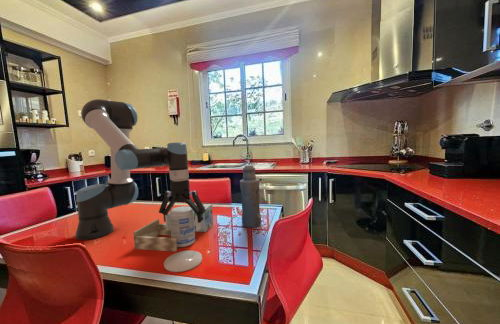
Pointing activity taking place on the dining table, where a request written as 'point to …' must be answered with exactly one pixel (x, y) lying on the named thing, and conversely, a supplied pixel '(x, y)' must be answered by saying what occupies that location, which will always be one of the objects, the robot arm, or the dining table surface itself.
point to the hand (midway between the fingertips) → (183, 229)
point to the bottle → (250, 198)
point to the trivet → (182, 261)
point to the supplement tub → (182, 225)
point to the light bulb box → (205, 218)
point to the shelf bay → (154, 238)
